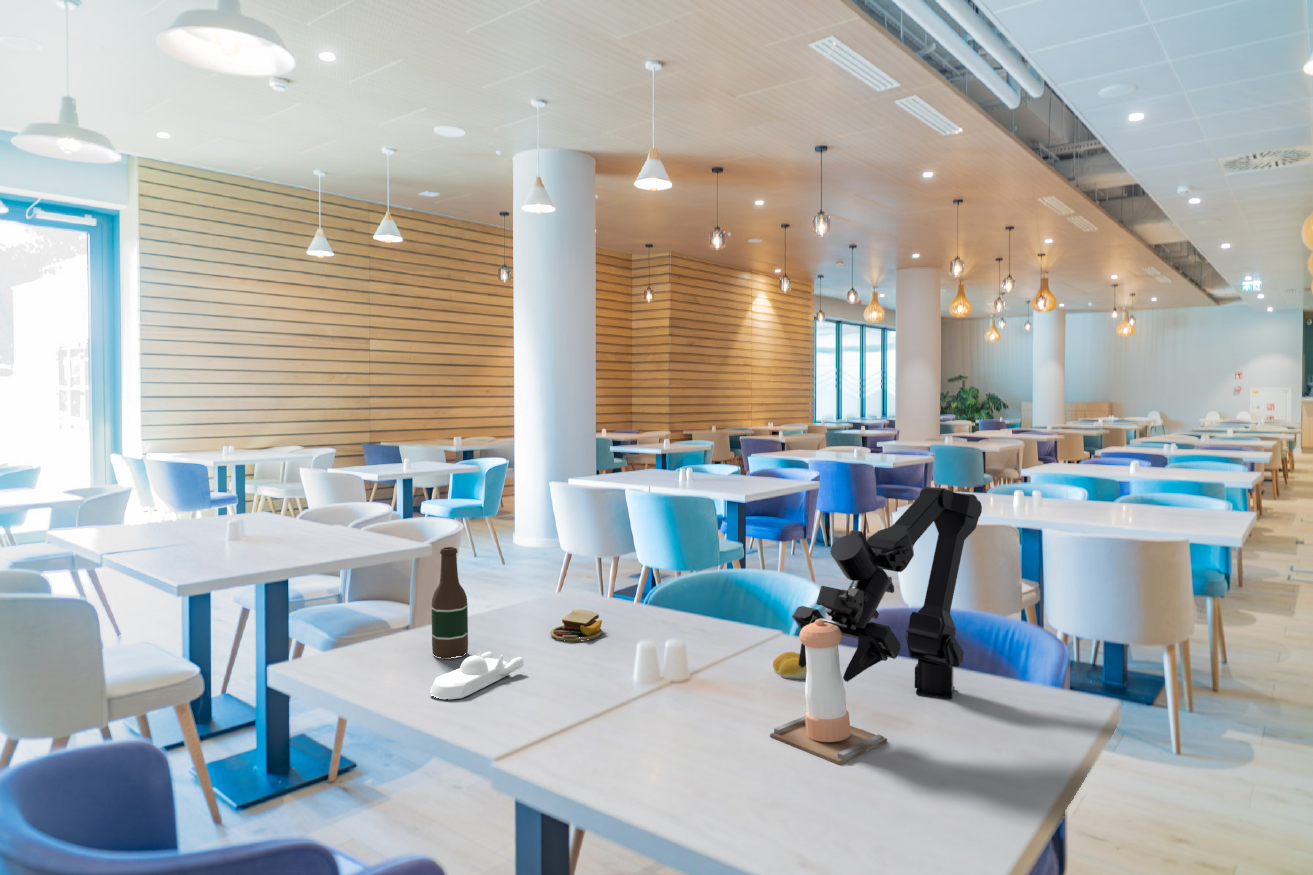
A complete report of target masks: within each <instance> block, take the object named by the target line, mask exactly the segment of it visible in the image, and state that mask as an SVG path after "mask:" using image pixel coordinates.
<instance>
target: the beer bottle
mask: <svg viewBox="0 0 1313 875" xmlns="http://www.w3.org/2000/svg"><path fill="white" fill-rule="evenodd" d="M439 554H441V558H440V559H441V560H440V561H441V562H440V578H439V583H438V585H437V587H436V589H435V590H434V592H433V595H432V598H431V647H432V648H431V650H432V655H433V654H434V655H435V656H437V657H441V658H451V657H456V656H463V655H464V654H465V653H467V654H468V652H469V651H468V650H469V623H468V622H469V621H468V620H469V618H468V615H469V614H468V613H469V612H468V610H469V608H468V598H467V593H466V592H465V589H464V588H463V586H462V585H461V584H460V579H459V574H458V573H459V572H458V562H457V561H458V560H457V554H458V549H457V548H456V547H454V546H446V547H442V548H441V549H440V552H439ZM435 656H434V657H435ZM464 656H465V655H464ZM464 656H463V657H464Z"/></svg>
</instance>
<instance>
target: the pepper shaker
mask: <svg viewBox="0 0 1313 875" xmlns="http://www.w3.org/2000/svg"><path fill="white" fill-rule="evenodd" d="M798 637H799V640H800V642H801V643H802V644H803V645H805V652H806V666H807V672H806V679H805V687H804V696H805V703H806V704H805V706H806V710H805V712H804V716H805V723H806V735H807V736H808V737H809V738H811V739H813V740H816V741H820V742H836V741H841V740H844V739H846V738H848V737H849V736H850V734H851V733H850V726H851V723H850V713H849V711H848V710H847V699H846V698H847V697H846V695H847V694H846V688H845V685H844V679H843V676H842V673H841V667H840V666H841V664H840V662H841V661H840V652H839V645H840V644H841V643H842V640H843V635H842V633H841V630H840V629H839V628H838V627H837V626H836V625H833V624H831V623H826V622H824V620H822V619H817V620H816V621H815V623H811V624H808V625H806V626H804V627H803V628H802V630H801V629H800V632H799V636H798ZM801 643H800V644H801Z"/></svg>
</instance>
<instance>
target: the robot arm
mask: <svg viewBox="0 0 1313 875" xmlns="http://www.w3.org/2000/svg"><path fill="white" fill-rule="evenodd" d="M982 510H983V507H982V503H981V501H980V500H978V498H977V496H976V495H975V494H973V493H963V492H955V491H953V490H949V489H947V488H944V487H932V486H926V487H923V488H921V490H920V493H919V495H918V497H917V498H915V501H913V502H912V504H910V506H908V508H907V509H906V510H905V511H904V513H902V514H901V516H899V518H898V519H897V520H896V521H895V522H894V523H893V524H892V525H891V526H889V527H886V528H883V529H880V530H878V531H876V532H874V534H871V535H870V536H869V537H868V539H866V537H865V535H864V533H863V531H860V530H855V529H853V530H852V529H851V531H850V533H849V534H847V535H843V536H842V537H839V538H838V539H837V540H835V541H834V542H833V543H832V544H831V546H830V555H831V557H832V558H833V560H834V561H835V563H836V564H837V566H838V567H839V569H840V570H841V571H842V574H843V575H844V576H845V578H846V579H847V580H849V581H851V582H850V584H849V586H848V588H847V590H846V589H839V588H836V587H832V586H825V585H821V586H820V588H819V592H818V596H817V599H816V603H815V604H816V605H818V606H822V607H823V608H826V610H825V612H826V614H827V615H828V616H829V617H831V619H826V618H825V617H824V616H823V614H822V613H821V612H820V611H819V609H817V608H814V607H813V608H812V607H809V606H805V605H801V606H798V607H797V608H796V609H795V611H794V613H793V614H792V616H791V618H792V619H793V620H794V621H795V623H796V625H797V626H798V628H800V631H801V630H802V628H803V627H804V626H806V625H808V624H811V623H815V621H816V620H817V619H822V620H824V622H826V623H831V624H833V625H836V626H837V627H838V628H839V629H840V630H841V633H842V637H843V636H844V637H848V638H851V639H856V640H857V647H856V650H855V652H854V654H853V655H852V658H851V659H850V661H849V663H848V664H847V667H846V669H845V671H844V674H843V676H842V680H843V681H844V682H845V683H848V682H849V681H851V680H852V679H854V678H856V677H857V676H859V675H860V674H862V673H863V672H864V671H866V670H867V669H869V668H871V667H873V666H874V665H877V664H878V663H880V662H882V661H883V662H886V661H888V659H889V658H890V659H893V660H895V659H897V657H898V655H899V653H900V651H901V643H900V641H899V639H898V638H897V636H896V634H895V633H894V631H893V630H892V628H891V627H890V626H889V625H886V624H881V623H877V622H872V619H874V620H877V619H878V618H879V615H880V613H879V612H878V610H877V609H878V606H879V605H880V603H881V601H882V599H883V597H884V595H885V593H890V594H893V593H895V585H894V583H893V581H892V580H893V578H892V577H891V576H888V573H887V572H886V571H889V572H890V571H891V572H895V573H901V572H903V571H904V570H906V568H907V567H908V565H909V564H910V562H911V561H912V559H913V557H914V556H915V554H914V546H915V544H916V543H917V542H918V540H919V539H920V538H921V537H922V536H923V534H924V533H925V532H926V530H928V529H929V527H930V526H931V525H932V524H933V523H934V526H935V528H936V531H937V541H936V545H935V548H934V554H933V559H932V564H931V569H930V572H929V573H930V574H929V578H928V582H927V588H926V593H925V596H924V597H925V598H924V602H923V606H922V607H921V608H919V610H918V611H917V612H916V611H911V614H910V615H909V622H908V627H907V629H906V634H905V640H906V644H907V645H906V646H907V650H908V654H909V657H910V658H911V659H916V660H917V663H916V664H915V667H914V688H915V689H916V690H915V694H916V695H919V696H927V697H933V698H941V699H948V700H952V699H953V696H954V692H955V689H956V688H955V686H954V671H955V670H954V668H956V667H957V668H958V667H960V666H961V664H962V663H963V659H964V653H965V652H964V651H963V649H962V647H961V645H960V644H959V643H958V640H956V631H957V629H956V625H955V623H954V621H953V617H952V615H951V609H952V603H953V600H954V595H955V594H954V593H955V589H956V584H957V581H958V580H957V578H958V575H959V574H958V573H959V568H960V564H961V559H962V554H963V549H964V544H965V541H966V540H967V538H968V537H969V536H970V535H971V534H972V533H973V532H974V531H975V530H976V528H977V526H978V521H979V519H980V517H981V515H982ZM800 644H801V646H800V650H799V651H800V652H799V654H800V657H799V663H798V664H799V666H800V667H801V668H803V667H804V666H805V665H806V652H805V645H803V644H802V643H800Z"/></svg>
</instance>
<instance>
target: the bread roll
mask: <svg viewBox="0 0 1313 875" xmlns="http://www.w3.org/2000/svg"><path fill="white" fill-rule="evenodd" d="M799 657H800V652H799V653H798V652H795V651H786V652H783V653H781V654H779V655H778V656H776V657H775V658H774V660H773V661H772V668H773V670H774V672H775V673H777V674H778V675H779V676H780V677H781V678H785V679H792V680H806V672H807V666H806V665H805V666H804V667H803V668H801V667H800V666H799V664H798V663H799Z"/></svg>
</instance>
